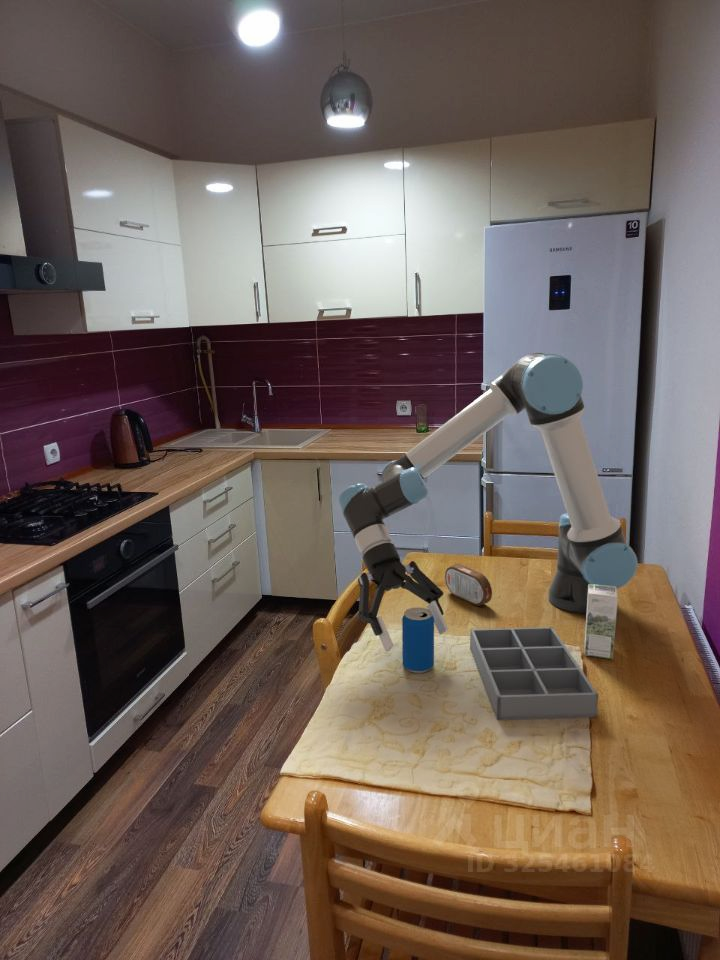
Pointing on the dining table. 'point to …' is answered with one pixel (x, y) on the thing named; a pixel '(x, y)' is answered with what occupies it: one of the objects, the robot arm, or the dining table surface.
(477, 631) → the can crate
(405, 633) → the beverage can
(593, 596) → the syrup box
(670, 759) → the dining table surface
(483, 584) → the tin
